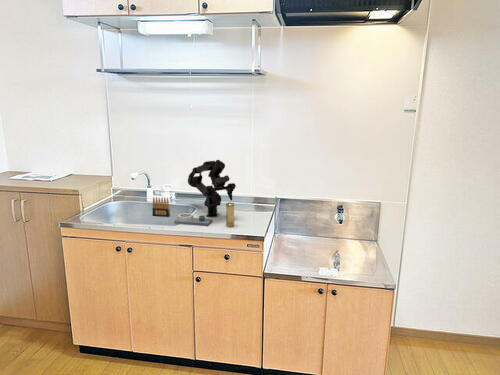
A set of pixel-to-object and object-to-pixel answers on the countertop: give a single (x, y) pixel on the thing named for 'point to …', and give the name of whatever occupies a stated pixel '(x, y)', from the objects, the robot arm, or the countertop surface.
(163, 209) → the ammunition clip
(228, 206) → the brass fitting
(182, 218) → the grey flat piece
